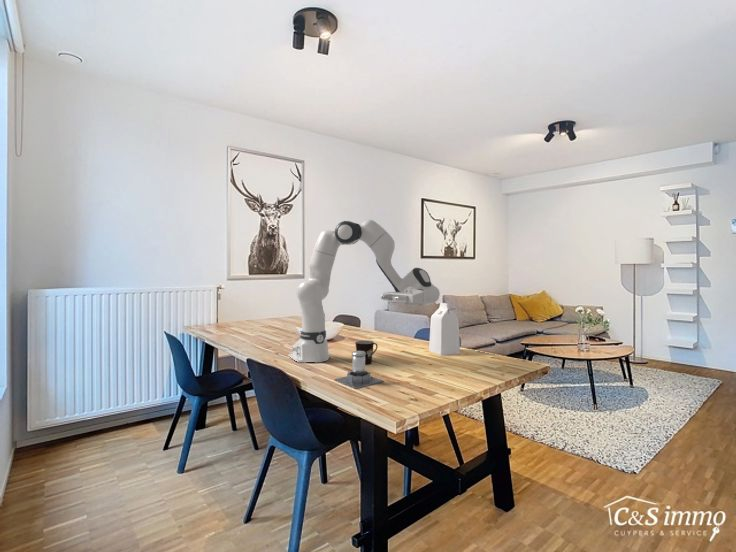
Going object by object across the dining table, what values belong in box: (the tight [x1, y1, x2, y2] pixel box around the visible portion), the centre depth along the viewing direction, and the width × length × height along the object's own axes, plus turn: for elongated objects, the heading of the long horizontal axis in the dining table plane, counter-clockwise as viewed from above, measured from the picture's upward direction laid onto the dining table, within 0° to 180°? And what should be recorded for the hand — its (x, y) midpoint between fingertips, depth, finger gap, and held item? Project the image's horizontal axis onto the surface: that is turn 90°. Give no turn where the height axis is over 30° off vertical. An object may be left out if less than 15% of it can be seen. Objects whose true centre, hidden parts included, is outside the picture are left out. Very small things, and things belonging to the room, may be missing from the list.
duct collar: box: [333, 370, 385, 390], centre depth 154 cm, size 14×14×3 cm
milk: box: [428, 302, 461, 356], centre depth 206 cm, size 12×12×26 cm
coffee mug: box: [354, 339, 379, 366], centre depth 183 cm, size 12×9×10 cm
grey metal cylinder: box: [351, 350, 366, 376], centre depth 154 cm, size 5×5×11 cm
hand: (389, 298), depth 167 cm, fingers open, 8 cm apart
